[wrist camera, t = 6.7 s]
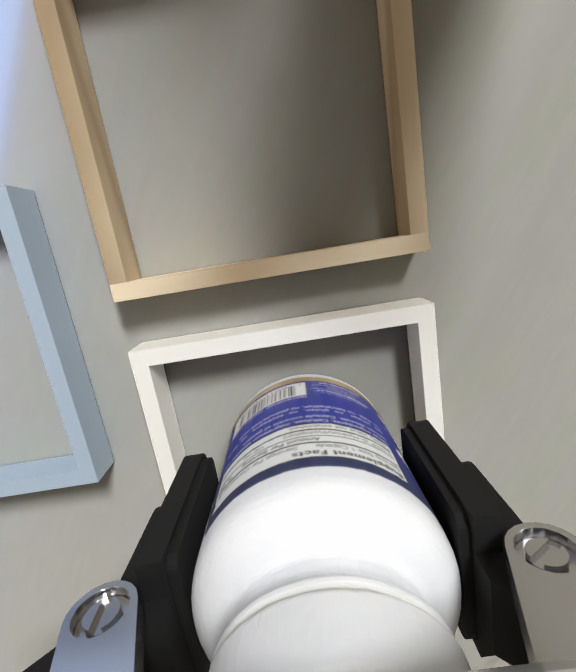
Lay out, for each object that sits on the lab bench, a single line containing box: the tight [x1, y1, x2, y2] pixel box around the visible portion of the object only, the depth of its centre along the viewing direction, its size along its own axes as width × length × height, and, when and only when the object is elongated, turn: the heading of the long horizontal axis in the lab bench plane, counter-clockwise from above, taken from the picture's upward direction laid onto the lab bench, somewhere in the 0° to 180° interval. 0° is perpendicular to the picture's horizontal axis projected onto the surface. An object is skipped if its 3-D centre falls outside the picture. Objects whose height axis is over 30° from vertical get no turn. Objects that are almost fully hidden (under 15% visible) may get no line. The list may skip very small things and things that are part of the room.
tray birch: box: [33, 0, 430, 303], centre depth 11 cm, size 9×9×1 cm
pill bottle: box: [191, 374, 471, 672], centre depth 9 cm, size 5×5×9 cm
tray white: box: [128, 297, 445, 495], centre depth 13 cm, size 9×9×1 cm
